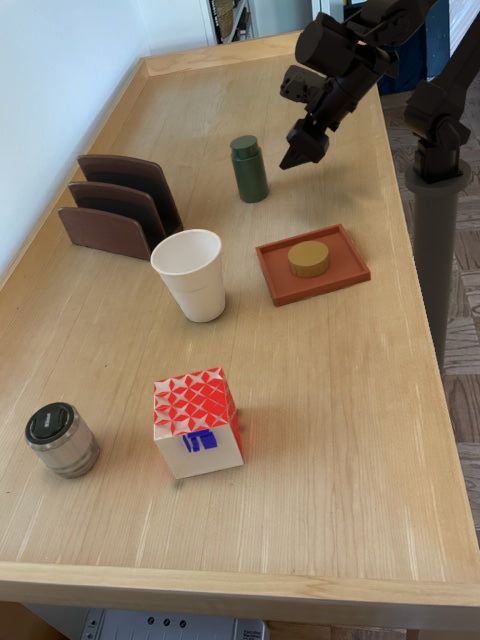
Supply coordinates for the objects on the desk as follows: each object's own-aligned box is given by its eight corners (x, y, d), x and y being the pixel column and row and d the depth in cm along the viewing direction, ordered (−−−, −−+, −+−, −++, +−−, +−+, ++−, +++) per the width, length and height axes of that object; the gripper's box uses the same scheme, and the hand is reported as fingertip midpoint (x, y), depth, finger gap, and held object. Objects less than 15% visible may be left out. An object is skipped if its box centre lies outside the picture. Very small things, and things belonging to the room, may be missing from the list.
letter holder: (105, 214, 106) (76, 148, 96) (185, 228, 96) (161, 157, 87) (71, 244, 100) (37, 178, 91) (153, 262, 91) (124, 190, 81)
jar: (265, 183, 102) (255, 130, 95) (272, 197, 98) (262, 143, 90) (237, 191, 102) (225, 139, 95) (243, 206, 98) (230, 152, 90)
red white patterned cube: (236, 408, 65) (222, 366, 60) (244, 464, 59) (229, 423, 54) (173, 422, 65) (152, 382, 60) (174, 479, 60) (152, 440, 54)
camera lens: (102, 430, 67) (76, 391, 62) (100, 473, 62) (72, 436, 57) (54, 442, 67) (24, 405, 62) (48, 487, 62) (16, 450, 57)
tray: (341, 231, 86) (341, 223, 85) (371, 280, 77) (370, 271, 75) (256, 255, 86) (255, 247, 85) (275, 307, 77) (273, 298, 76)
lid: (282, 272, 81) (280, 260, 80) (302, 249, 84) (300, 237, 83) (317, 282, 78) (316, 269, 76) (336, 257, 81) (335, 245, 80)
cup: (162, 328, 78) (137, 270, 71) (190, 284, 84) (170, 226, 77) (222, 338, 74) (203, 278, 67) (248, 290, 80) (233, 230, 73)
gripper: (321, 25, 84) (266, 99, 96) (291, 74, 72) (232, 151, 84) (374, 72, 86) (314, 139, 98) (353, 127, 75) (288, 195, 86)
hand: (288, 154), depth 91 cm, fingers open, 9 cm apart
